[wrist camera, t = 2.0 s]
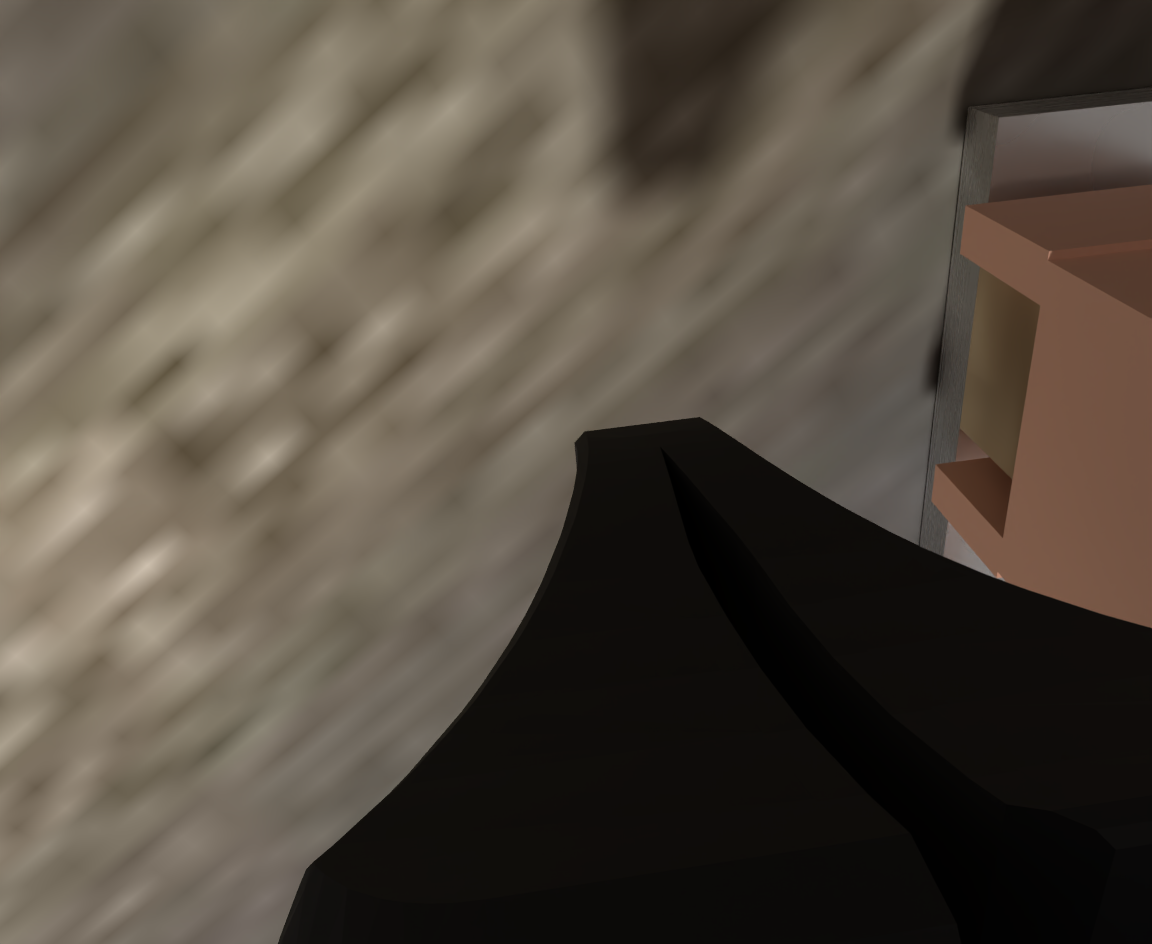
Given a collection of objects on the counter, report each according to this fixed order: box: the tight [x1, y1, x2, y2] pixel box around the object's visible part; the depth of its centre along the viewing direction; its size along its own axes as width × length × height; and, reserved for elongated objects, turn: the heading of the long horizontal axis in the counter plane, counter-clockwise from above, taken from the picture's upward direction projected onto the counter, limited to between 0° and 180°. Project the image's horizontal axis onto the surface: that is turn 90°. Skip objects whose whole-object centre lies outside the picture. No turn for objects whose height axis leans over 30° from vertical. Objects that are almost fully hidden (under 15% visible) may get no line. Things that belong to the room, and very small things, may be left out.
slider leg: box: [931, 184, 1152, 628], centre depth 13 cm, size 10×3×5 cm, turn 5°
